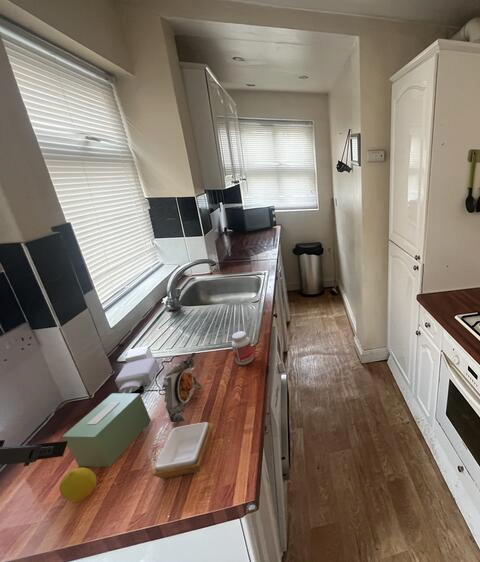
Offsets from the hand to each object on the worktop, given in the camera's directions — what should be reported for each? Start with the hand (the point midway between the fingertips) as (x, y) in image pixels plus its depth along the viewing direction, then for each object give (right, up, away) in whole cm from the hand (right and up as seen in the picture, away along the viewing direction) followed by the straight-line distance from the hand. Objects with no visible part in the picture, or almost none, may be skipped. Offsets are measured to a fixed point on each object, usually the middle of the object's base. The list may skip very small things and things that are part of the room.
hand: (32, 448), depth 62 cm
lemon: (+5, -14, +6) cm, 17 cm away
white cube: (-16, +3, +50) cm, 52 cm away
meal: (+13, -4, +32) cm, 34 cm away
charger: (-10, -1, +40) cm, 42 cm away
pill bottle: (+21, +4, +51) cm, 55 cm away
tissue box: (+1, -9, +19) cm, 21 cm away
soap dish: (+23, -10, +15) cm, 29 cm away
